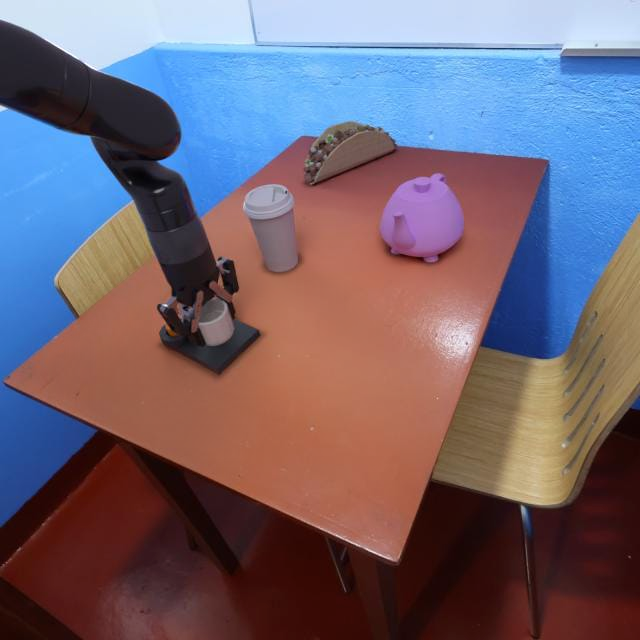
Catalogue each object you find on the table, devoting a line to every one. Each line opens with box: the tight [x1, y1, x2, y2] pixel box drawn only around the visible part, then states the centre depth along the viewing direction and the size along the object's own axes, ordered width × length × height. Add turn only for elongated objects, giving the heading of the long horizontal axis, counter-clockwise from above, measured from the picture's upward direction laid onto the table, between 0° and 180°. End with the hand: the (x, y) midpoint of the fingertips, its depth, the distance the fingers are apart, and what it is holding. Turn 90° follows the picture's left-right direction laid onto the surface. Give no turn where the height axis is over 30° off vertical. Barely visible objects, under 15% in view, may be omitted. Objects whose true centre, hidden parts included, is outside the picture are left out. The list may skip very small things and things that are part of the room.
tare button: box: [165, 323, 179, 336], centre depth 79 cm, size 3×3×2 cm
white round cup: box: [190, 297, 234, 346], centre depth 76 cm, size 6×6×5 cm
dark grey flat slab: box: [158, 317, 261, 376], centre depth 79 cm, size 11×14×3 cm
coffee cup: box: [242, 183, 299, 273], centre depth 89 cm, size 10×10×15 cm
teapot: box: [379, 172, 465, 263], centre depth 87 cm, size 22×16×14 cm
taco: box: [302, 120, 398, 186], centre depth 118 cm, size 10×27×10 cm, turn 122°
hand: (215, 330), depth 77 cm, fingers closed on white round cup, 6 cm apart
